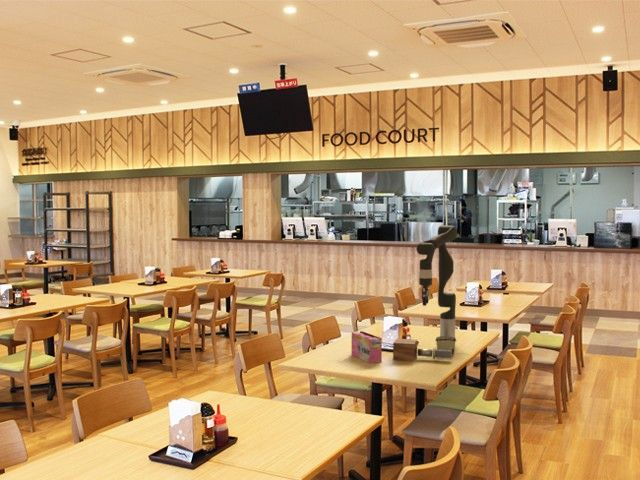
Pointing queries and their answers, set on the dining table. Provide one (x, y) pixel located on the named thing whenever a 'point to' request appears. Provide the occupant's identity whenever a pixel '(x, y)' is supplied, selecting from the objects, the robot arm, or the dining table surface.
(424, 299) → the robot arm
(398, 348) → the housing
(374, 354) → the gum box
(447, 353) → the grey capped rod
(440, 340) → the food container
